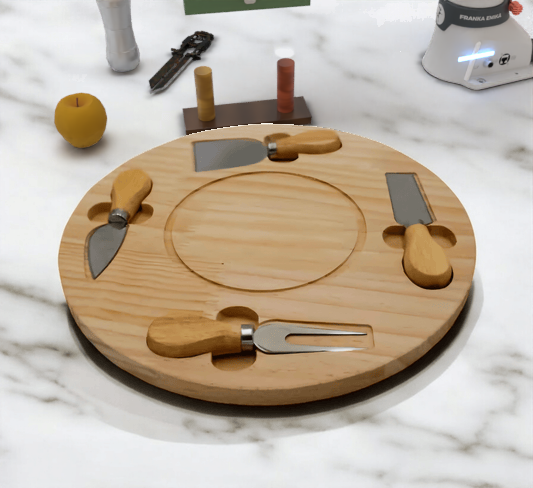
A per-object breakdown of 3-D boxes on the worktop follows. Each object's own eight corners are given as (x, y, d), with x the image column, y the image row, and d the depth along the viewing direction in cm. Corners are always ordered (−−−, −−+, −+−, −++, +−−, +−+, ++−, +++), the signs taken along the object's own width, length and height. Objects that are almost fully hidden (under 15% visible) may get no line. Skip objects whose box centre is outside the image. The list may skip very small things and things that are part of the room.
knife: (157, 98, 121) (156, 91, 120) (128, 90, 123) (127, 84, 122) (222, 40, 138) (221, 34, 137) (195, 34, 140) (195, 28, 139)
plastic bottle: (102, 72, 128) (81, -30, 115) (120, 56, 133) (102, -44, 119) (130, 78, 127) (112, -25, 113) (148, 62, 131) (132, -39, 117)
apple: (87, 164, 107) (75, 118, 101) (50, 148, 110) (36, 103, 104) (121, 138, 112) (112, 93, 106) (85, 124, 115) (74, 79, 109)
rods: (303, 103, 120) (304, 50, 112) (311, 124, 115) (313, 70, 107) (183, 115, 117) (177, 62, 110) (186, 137, 112) (180, 83, 105)
